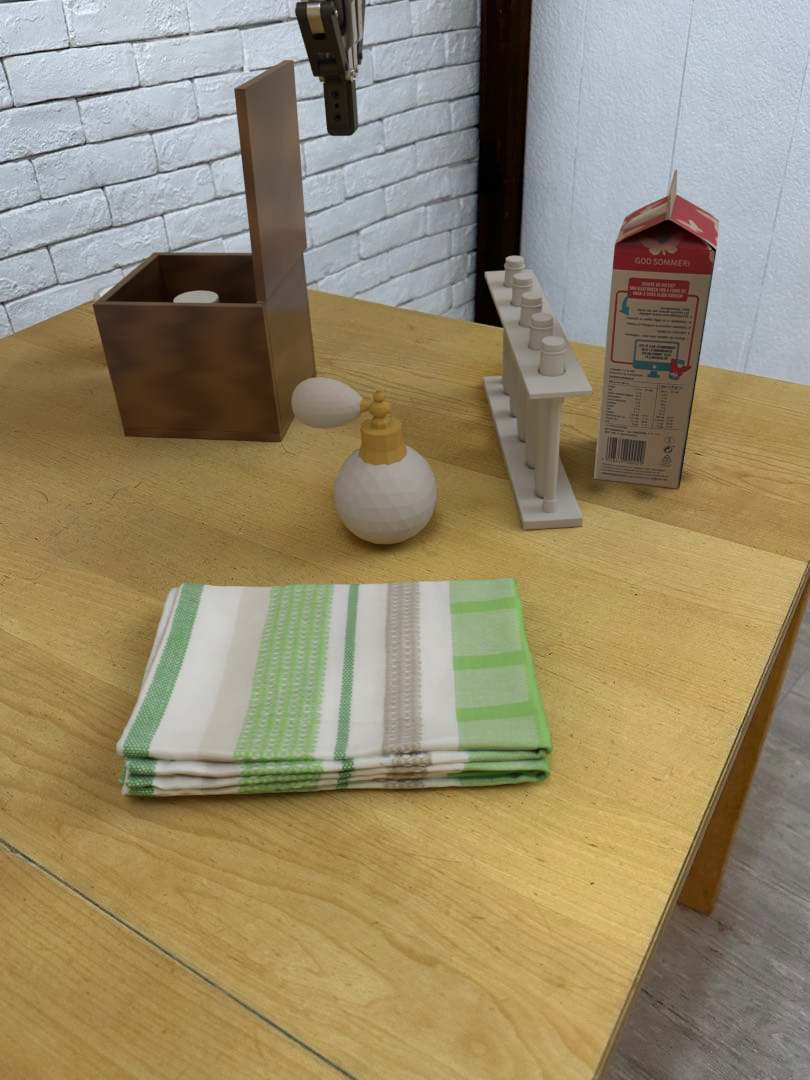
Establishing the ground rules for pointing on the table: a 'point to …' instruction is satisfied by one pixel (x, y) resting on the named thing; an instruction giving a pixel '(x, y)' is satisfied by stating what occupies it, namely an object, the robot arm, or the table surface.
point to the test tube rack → (533, 397)
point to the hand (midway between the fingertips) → (343, 133)
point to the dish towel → (337, 690)
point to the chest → (206, 348)
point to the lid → (272, 174)
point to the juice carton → (654, 340)
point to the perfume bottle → (371, 464)
